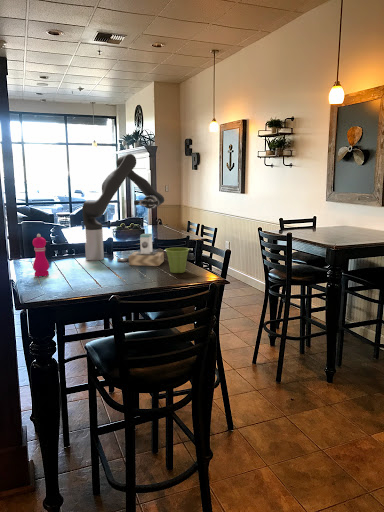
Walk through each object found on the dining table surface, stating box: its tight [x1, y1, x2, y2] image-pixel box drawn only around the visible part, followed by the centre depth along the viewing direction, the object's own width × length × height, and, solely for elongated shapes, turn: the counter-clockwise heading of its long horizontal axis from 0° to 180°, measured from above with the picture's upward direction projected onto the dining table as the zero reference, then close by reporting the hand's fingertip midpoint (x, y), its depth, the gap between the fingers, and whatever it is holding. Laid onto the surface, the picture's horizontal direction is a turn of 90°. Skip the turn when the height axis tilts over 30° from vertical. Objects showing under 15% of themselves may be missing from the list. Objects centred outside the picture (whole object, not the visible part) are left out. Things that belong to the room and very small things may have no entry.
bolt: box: [117, 255, 130, 263], centre depth 228 cm, size 8×3×3 cm, turn 103°
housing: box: [139, 233, 153, 254], centre depth 222 cm, size 5×7×10 cm
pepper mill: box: [32, 233, 50, 278], centre depth 195 cm, size 7×7×20 cm
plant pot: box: [164, 247, 190, 274], centre depth 201 cm, size 12×12×11 cm
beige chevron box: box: [128, 251, 165, 267], centre depth 224 cm, size 16×13×5 cm
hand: (143, 203), depth 238 cm, fingers open, 8 cm apart
